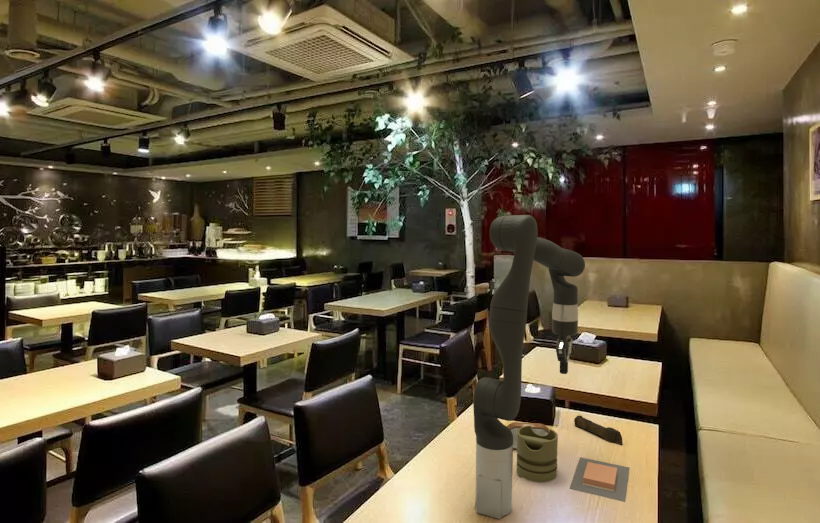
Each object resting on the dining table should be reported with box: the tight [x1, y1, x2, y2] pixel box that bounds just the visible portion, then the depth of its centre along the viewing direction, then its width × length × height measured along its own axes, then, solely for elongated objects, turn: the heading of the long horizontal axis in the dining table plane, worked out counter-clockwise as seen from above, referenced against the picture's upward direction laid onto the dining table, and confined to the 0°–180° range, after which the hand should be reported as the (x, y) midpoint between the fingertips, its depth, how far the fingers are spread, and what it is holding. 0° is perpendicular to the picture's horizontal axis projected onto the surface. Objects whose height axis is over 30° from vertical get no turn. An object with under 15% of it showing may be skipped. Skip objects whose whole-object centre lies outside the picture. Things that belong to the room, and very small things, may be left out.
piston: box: [516, 425, 559, 483], centre depth 143 cm, size 11×12×11 cm
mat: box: [569, 456, 631, 503], centre depth 140 cm, size 20×14×1 cm
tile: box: [583, 462, 617, 492], centre depth 139 cm, size 2×8×10 cm
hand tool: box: [573, 415, 623, 446], centre depth 168 cm, size 19×4×5 cm, turn 25°
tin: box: [506, 421, 550, 451], centre depth 158 cm, size 15×3×8 cm, turn 84°
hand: (563, 373), depth 153 cm, fingers closed
